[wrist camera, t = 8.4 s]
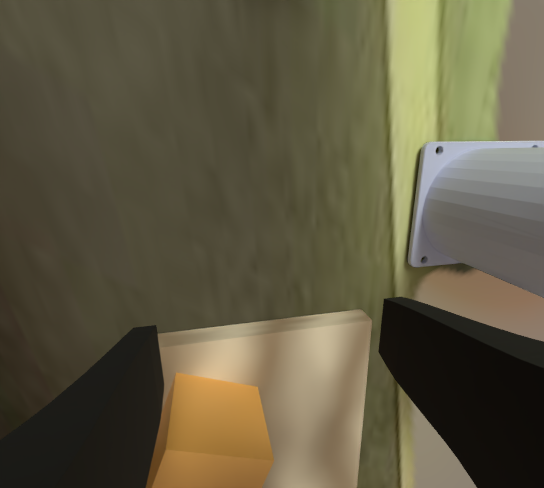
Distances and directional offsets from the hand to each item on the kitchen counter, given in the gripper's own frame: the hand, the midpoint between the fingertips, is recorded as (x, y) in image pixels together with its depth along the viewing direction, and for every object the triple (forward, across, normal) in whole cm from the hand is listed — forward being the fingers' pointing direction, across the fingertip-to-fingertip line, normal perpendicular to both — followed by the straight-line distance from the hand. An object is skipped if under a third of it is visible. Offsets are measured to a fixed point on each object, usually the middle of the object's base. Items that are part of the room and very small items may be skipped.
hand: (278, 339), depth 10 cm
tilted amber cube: (+8, +3, +10) cm, 13 cm away
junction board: (+9, 0, +12) cm, 16 cm away
